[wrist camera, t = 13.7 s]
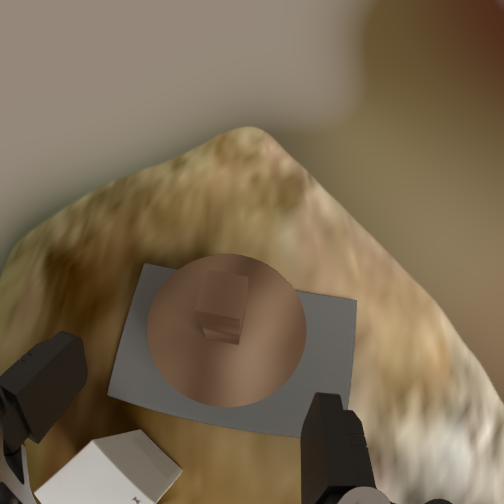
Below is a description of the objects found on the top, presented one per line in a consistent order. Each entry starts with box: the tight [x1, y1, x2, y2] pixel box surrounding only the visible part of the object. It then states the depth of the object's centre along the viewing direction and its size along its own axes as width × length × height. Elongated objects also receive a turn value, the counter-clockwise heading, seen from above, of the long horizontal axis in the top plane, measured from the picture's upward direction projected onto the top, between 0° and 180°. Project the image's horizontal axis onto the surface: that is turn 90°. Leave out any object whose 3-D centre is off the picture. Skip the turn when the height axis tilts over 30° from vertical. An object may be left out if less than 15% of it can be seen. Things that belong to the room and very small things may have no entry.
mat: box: [107, 263, 357, 438], centre depth 27 cm, size 22×14×1 cm, turn 80°
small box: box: [34, 429, 183, 504], centre depth 16 cm, size 8×6×10 cm
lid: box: [147, 254, 307, 407], centre depth 20 cm, size 12×12×8 cm
